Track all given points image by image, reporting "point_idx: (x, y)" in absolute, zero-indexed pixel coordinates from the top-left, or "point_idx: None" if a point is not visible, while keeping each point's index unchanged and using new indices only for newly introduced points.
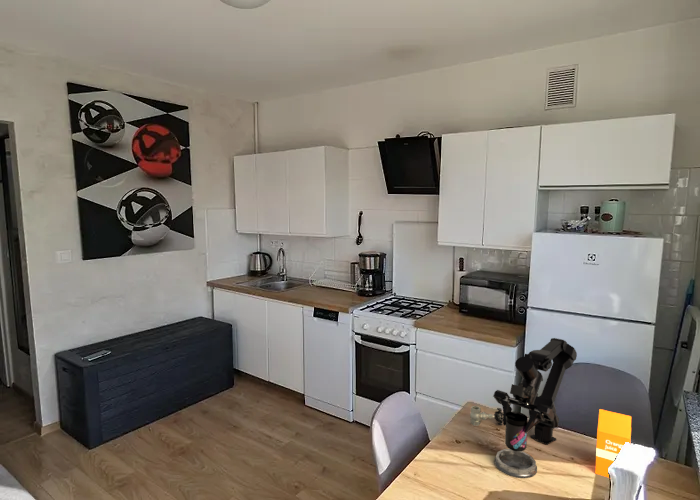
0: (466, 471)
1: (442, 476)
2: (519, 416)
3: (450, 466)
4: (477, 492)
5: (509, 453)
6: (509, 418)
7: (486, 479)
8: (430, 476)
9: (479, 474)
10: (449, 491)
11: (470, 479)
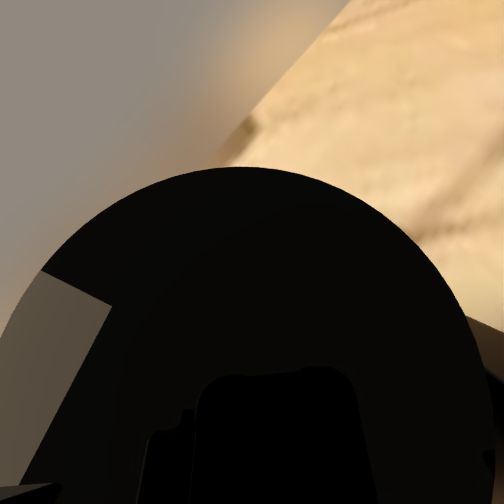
0: (413, 148)
1: (444, 49)
2: (156, 439)
3: (490, 117)
4: (282, 91)
5: None
6: (263, 180)
7: (314, 176)
8: (472, 14)
9: (359, 179)
10: (352, 20)
11: (357, 123)
